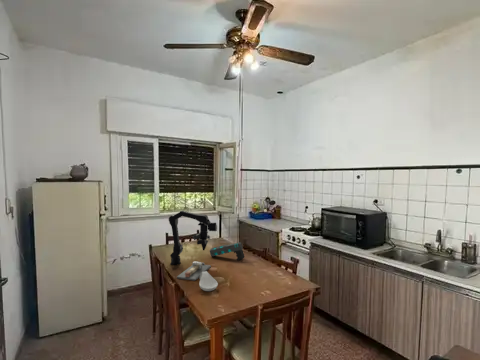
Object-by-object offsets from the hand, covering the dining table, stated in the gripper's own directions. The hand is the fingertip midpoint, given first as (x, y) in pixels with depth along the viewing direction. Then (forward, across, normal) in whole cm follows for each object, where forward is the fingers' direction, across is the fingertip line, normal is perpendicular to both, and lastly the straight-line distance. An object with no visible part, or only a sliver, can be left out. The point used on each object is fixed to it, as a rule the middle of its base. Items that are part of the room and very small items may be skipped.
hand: (203, 250), depth 209 cm
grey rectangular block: (+11, +12, -2) cm, 16 cm away
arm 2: (+11, +18, -2) cm, 21 cm away
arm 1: (+11, +18, -4) cm, 21 cm away
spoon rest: (+12, +37, +11) cm, 41 cm away
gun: (+12, -21, +16) cm, 29 cm away
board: (+12, +16, -3) cm, 20 cm away
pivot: (+11, +4, -1) cm, 12 cm away
